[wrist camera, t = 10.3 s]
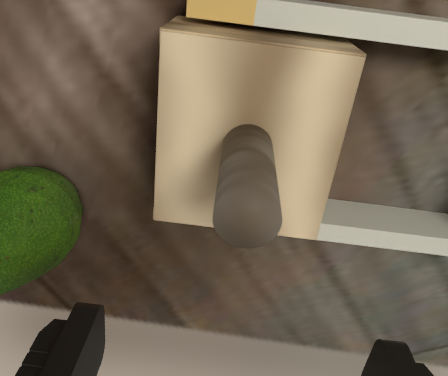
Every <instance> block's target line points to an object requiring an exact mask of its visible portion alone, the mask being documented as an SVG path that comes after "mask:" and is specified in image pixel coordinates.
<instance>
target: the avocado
mask: <svg viewBox="0 0 448 376" xmlns="http://www.w3.org/2000/svg"><path fill="white" fill-rule="evenodd" d="M82 212H83V207H82V204H81V201H80V199H79V196H78V192H77V189H76V188H75V187H74V185H73V184H72V183H71V182H70V181H69V180H68V179H67V178H65V177H64V176H62V175H61V174H60V173H57V172H55V171H52V170H49V169H46V168H43V167H15V168H11V169H8V170H4V171H1V172H0V295H2V294H4V293H7V292H9V291H11V290H14V289H16V288H18V287H20V286H22V285H24V284H26V283H28V282H30V281H32V280H34V279H36V278H38V277H40V276H42V275H43V274H45V273H46V272H48V271H49V270H51V269H53V268H54V267H56V266H57V265H58V264H60V263H61V262H62V261H63V259H64V258H65V257H66V256H67V254H68V253H69V252H70V250H71V249H72V248H73V247H74V245H75V243H76V241H77V239H78V238H79V236H80V225H81V218H82Z"/></svg>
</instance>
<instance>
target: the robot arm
mask: <svg viewBox="0 0 448 376" xmlns="http://www.w3.org/2000/svg"><path fill="white" fill-rule="evenodd" d="M104 348H105V317H104V306H103V305H97V304H89V303H80V302H77V303H76V304H75V305H74V307H73V309H72V311H71V313H70V315H69V317H68V319H67V320H59V319H54V320H53V321H51V322H50V323H49V324H48V325H47V326H46V327H45V328H44V329H42V331H40V332H39V333H38V336H37V337H36V339H35V341H34V343H33V345H32V346H31V348H30V351H29V353H27V355H26V357H25V359H24V361H23V362H22V366H21V367H20V368H19V370H18V371H17V373H16V375H15V376H97V373H98V370H99V367H100V365H101V361H102V358H103V353H104ZM361 376H434V375H433V374H432V373H431V372H430V371H429V370H428V368H427V367H426V366H425V365H424V364H422V363H415V361H414V358H413V356H412V354H411V351H410V349H409V347H408V345H407V344H406V343H404V342H399V341H390V340H382V339H378V340H376V342H375V343H374V346H373V348H372V350H371V353H370V355H369V357H368V360H367V362H366V364H365V367H364V369H363V372H362V375H361Z"/></svg>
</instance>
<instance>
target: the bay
mask: <svg viewBox="0 0 448 376" xmlns="http://www.w3.org/2000/svg"><path fill="white" fill-rule="evenodd" d="M186 17H190V18H198V19H205V20H213V21H221V22H229V23H237V24H245V25H252V26H260V27H268V28H276V29H284V30H291V31H299V32H307V33H315V34H323V35H330V36H338V37H346V38H354V39H362V40H370V41H377V42H385V43H393V44H401V45H409V46H416V47H424V48H432V49H440V50H448V18H441V17H433V16H425V15H418V14H410V13H402V12H394V11H387V10H379V9H371V8H363V7H355V6H348V5H340V4H332V3H324V2H317V1H309V0H187V10H186ZM316 240H322V241H330V242H338V243H346V244H354V245H362V246H370V247H378V248H386V249H394V250H402V251H411V252H419V253H427V254H435V255H443V256H448V214H447V213H439V212H431V211H423V210H415V209H407V208H399V207H391V206H383V205H375V204H367V203H359V202H351V201H343V200H335V199H327V202H326V206H325V210H324V214H323V217H322V221H321V225H320V228H319V233H318V236H317V239H316Z"/></svg>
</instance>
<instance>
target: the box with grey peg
mask: <svg viewBox="0 0 448 376" xmlns="http://www.w3.org/2000/svg"><path fill="white" fill-rule="evenodd" d="M159 44H160V58H159V85H158V112H157V139H156V166H155V193H154V208H153V219H154V220H158V221H166V222H174V223H182V224H190V225H198V226H206V227H214V229H215V231H216V232H217V234H218V235H219V236H220V238H221V239H223V240H224V241H225V242H227V243H228V244H230V245H233V246H235V247H239V248H256V247H260V246H263V245H265V244H267V243H268V242H270V241H271V240H272V239H274V238H275V236H276V235H279V236H287V237H295V238H303V239H311V240H316V239H317V236H318V233H319V228H320V225H321V221H322V217H323V214H324V210H325V206H326V202H327V199H328V195H329V191H330V188H331V184H332V180H333V177H334V173H335V169H336V165H337V162H338V158H339V154H340V151H341V147H342V143H343V140H344V136H345V132H346V128H347V125H348V121H349V117H350V114H351V110H352V106H353V103H354V99H355V95H356V92H357V88H358V84H359V80H360V77H361V73H362V69H363V66H364V63H365V59H366V55H367V54H365V53H364V52H363V51H361V50H360V49H359V48H357V47H356V46H355V45H353V44H352V43H351V42H349V41H348V40H347V39H345V38H344V37H338V36H330V35H323V34H315V33H307V32H299V31H291V30H284V29H276V28H268V27H260V26H252V25H245V24H237V23H229V22H221V21H213V20H205V19H198V18H190V17H186V16H176V17H175V18H173V19H172V20H171V21H169V22H168V23H166V24H165V25H163V26H162V27H161V28H160V35H159Z"/></svg>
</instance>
